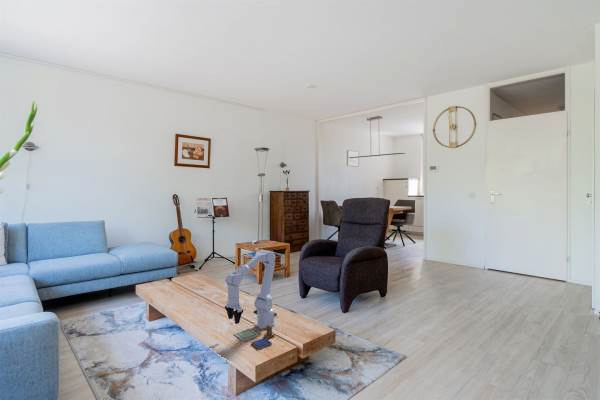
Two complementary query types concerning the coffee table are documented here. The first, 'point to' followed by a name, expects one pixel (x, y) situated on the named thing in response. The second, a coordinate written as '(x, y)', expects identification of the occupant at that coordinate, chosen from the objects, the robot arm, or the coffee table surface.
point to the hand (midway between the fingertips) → (233, 321)
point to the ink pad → (261, 343)
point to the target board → (246, 334)
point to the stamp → (269, 332)
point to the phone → (274, 313)
